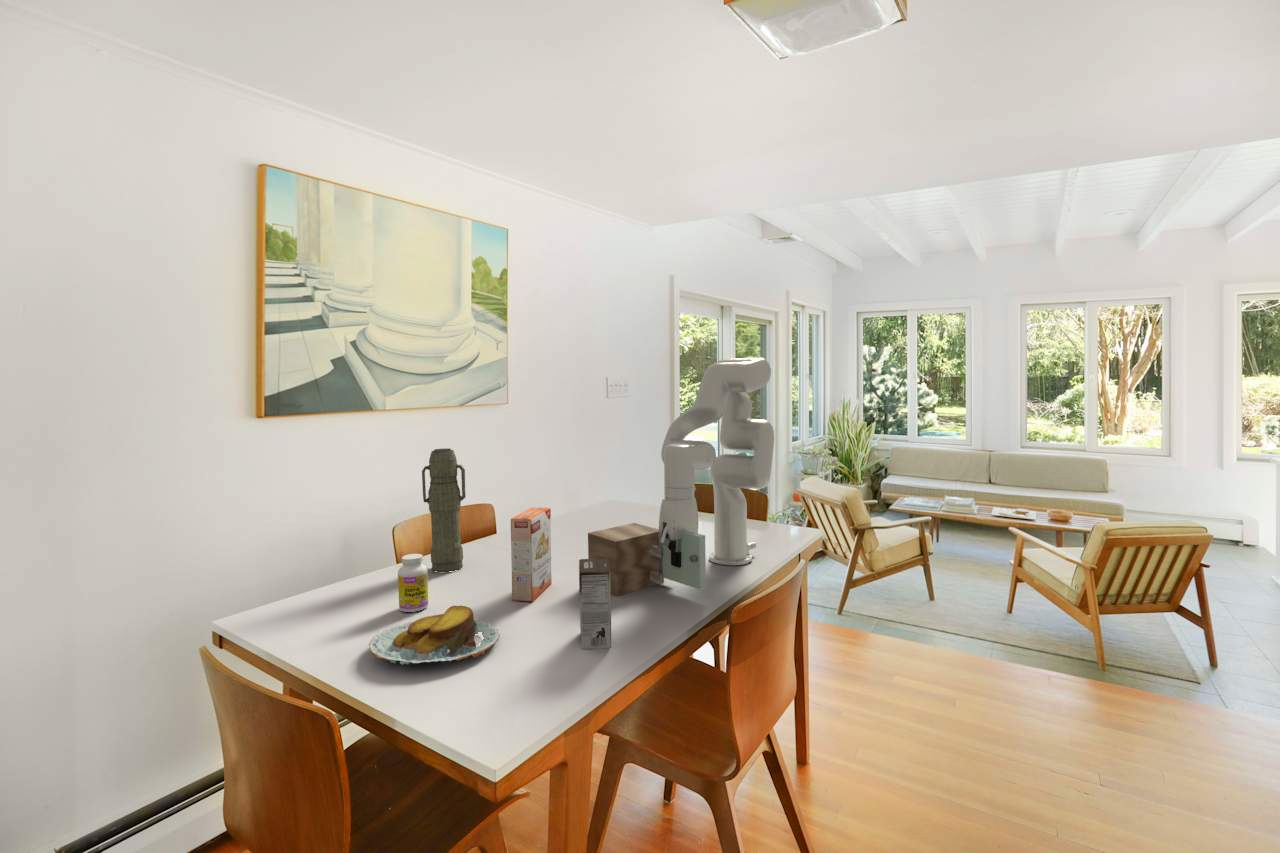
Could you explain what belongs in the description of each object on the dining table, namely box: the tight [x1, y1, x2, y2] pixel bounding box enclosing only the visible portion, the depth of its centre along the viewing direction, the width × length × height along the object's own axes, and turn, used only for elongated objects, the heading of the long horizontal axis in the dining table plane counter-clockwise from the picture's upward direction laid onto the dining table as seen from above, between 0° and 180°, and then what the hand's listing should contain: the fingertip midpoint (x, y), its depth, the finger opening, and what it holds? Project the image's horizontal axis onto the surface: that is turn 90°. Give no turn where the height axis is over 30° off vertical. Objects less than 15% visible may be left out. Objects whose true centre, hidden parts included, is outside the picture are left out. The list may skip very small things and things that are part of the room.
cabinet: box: [587, 522, 674, 597], centre depth 161 cm, size 16×16×14 cm
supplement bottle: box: [397, 553, 429, 613], centre depth 147 cm, size 7×7×13 cm
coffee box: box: [578, 558, 612, 650], centre depth 128 cm, size 9×6×16 cm
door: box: [659, 532, 707, 590], centre depth 154 cm, size 3×15×13 cm, turn 40°
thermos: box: [421, 448, 466, 573], centre depth 178 cm, size 9×12×35 cm
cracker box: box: [510, 507, 552, 603], centre depth 157 cm, size 14×6×21 cm, turn 168°
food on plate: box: [368, 605, 500, 665], centre depth 126 cm, size 26×25×7 cm
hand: (679, 564), depth 155 cm, fingers closed on door, 2 cm apart
